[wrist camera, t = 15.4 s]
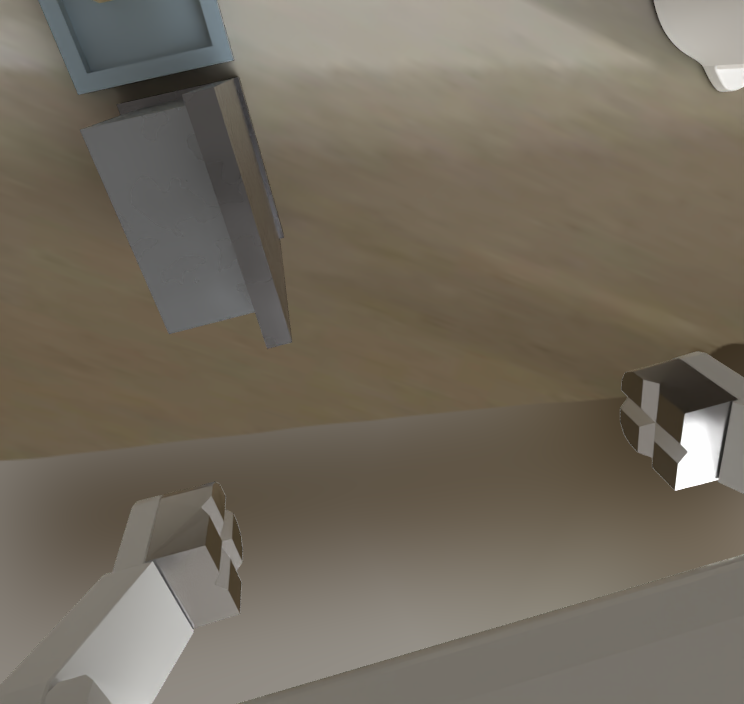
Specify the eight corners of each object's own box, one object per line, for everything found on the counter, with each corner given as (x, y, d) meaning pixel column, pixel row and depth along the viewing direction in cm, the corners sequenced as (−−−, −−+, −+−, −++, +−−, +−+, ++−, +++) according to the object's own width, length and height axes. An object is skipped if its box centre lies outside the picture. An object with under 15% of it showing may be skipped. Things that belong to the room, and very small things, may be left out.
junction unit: (239, 76, 36) (221, 85, 20) (283, 232, 42) (298, 340, 25) (121, 103, 36) (3, 134, 19) (181, 257, 41) (129, 384, 25)
